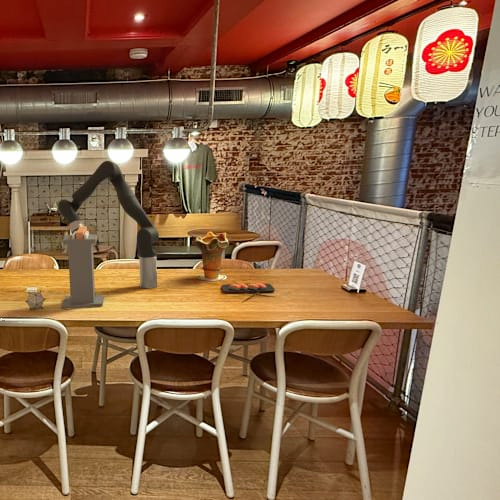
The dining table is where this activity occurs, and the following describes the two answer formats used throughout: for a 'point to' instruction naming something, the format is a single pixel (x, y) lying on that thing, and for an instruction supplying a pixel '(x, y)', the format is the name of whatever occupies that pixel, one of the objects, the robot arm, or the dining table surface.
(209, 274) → the decorative vase
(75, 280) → the stand
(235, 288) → the sushi plate
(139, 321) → the dining table surface
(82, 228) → the bar
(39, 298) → the game die
